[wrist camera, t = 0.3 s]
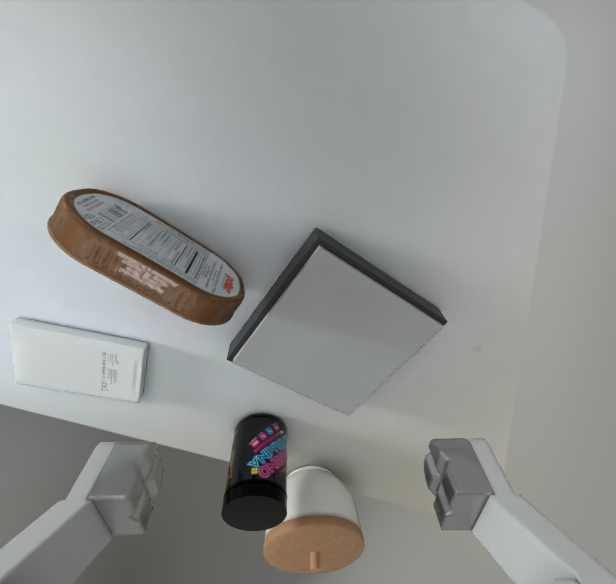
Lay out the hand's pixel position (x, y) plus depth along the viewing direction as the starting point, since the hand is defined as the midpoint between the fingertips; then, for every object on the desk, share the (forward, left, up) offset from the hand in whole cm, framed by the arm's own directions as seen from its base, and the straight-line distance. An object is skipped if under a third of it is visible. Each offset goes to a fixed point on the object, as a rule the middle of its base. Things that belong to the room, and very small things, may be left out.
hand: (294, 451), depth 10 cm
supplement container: (+26, +13, -24) cm, 37 cm away
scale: (+8, +11, -23) cm, 27 cm away
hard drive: (+26, -9, -24) cm, 36 cm away
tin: (+8, -7, -24) cm, 26 cm away
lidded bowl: (+32, +25, -24) cm, 47 cm away
